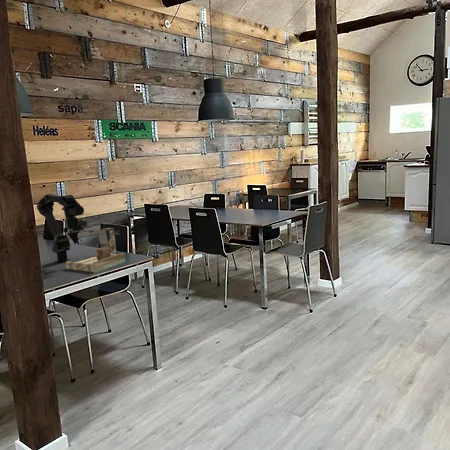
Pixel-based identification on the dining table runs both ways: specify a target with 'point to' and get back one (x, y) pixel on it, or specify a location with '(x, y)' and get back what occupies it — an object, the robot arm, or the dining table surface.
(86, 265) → the trap lane
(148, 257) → the dining table surface
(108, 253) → the walnut block
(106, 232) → the coffee box
